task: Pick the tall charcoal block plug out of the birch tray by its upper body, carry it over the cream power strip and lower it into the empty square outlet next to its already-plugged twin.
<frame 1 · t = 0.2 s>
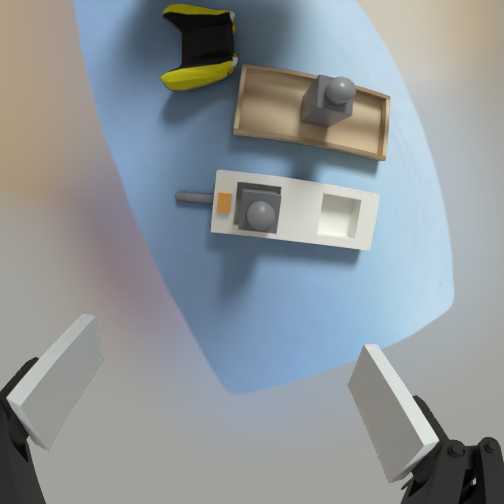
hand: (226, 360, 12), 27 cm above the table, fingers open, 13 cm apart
twin plug: (256, 203, 37), resting on strip
gaming controller: (202, 51, 31), on the table
tray: (314, 112, 34), on the table
plug: (315, 111, 33), point 1 cm above the table, touching tray
strip: (295, 208, 38), on the table
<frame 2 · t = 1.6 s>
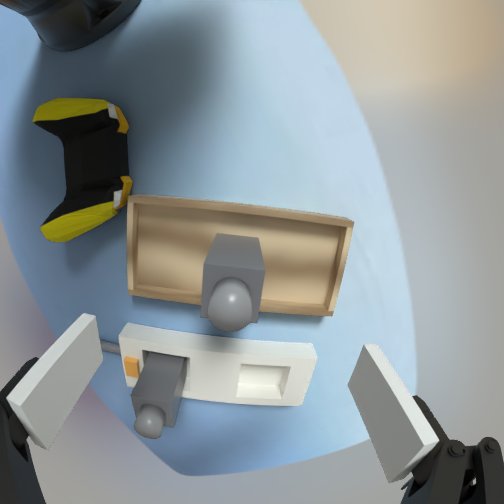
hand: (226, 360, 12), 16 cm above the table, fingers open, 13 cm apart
twin plug: (170, 358, 31), resting on strip
gaming controller: (93, 162, 25), on the table
tray: (235, 253, 27), on the table
plug: (235, 255, 27), point 1 cm above the table, touching tray
strip: (216, 362, 31), on the table
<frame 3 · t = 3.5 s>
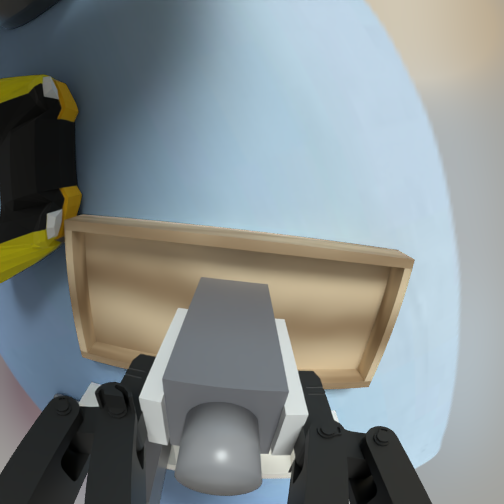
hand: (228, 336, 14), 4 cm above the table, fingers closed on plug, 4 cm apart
twin plug: (150, 426, 20), resting on strip
gaming controller: (35, 167, 15), on the table
tray: (231, 306, 18), on the table
plug: (231, 310, 17), point 1 cm above the table, touching gripper
strip: (208, 432, 21), on the table
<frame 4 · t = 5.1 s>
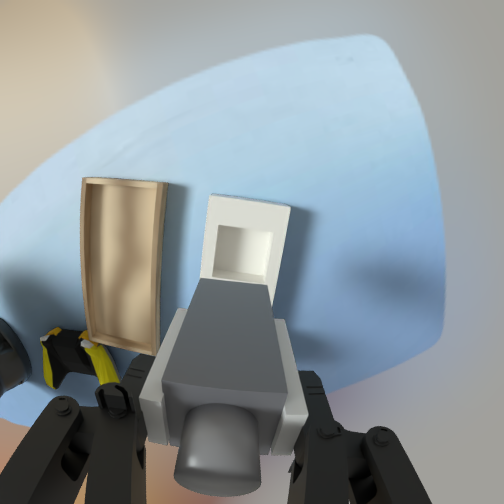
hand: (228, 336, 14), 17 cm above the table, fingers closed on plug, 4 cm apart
gaming controller: (83, 353, 35), on the table
tray: (122, 267, 31), on the table
plug: (230, 310, 17), point 14 cm above the table, touching gripper
strip: (235, 292, 32), on the table
when the fingers open (4 cm above the table, at t = 7.1 s): plug stays where it is, resting on strip.
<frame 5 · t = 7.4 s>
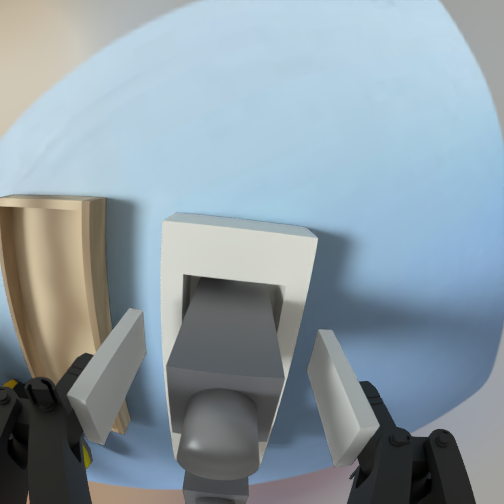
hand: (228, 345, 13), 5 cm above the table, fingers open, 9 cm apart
twin plug: (221, 414, 21), resting on strip
gaming controller: (46, 409, 23), on the table
tray: (64, 323, 18), on the table
plug: (231, 305, 18), resting on strip
strip: (225, 365, 20), on the table
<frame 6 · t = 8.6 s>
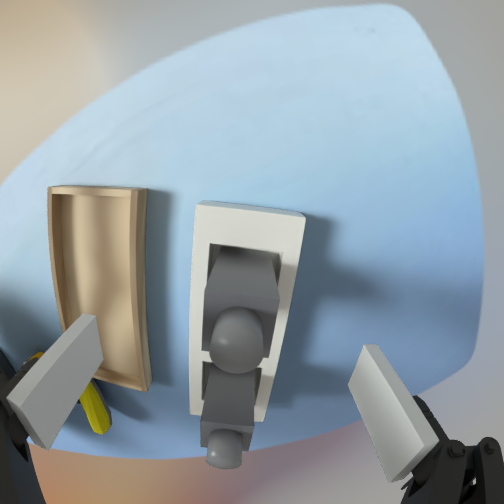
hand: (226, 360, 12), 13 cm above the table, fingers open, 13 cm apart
twin plug: (231, 369, 27), resting on strip
gaming controller: (70, 379, 29), on the table
tray: (102, 292, 25), on the table
plug: (242, 271, 24), resting on strip
strip: (237, 323, 26), on the table
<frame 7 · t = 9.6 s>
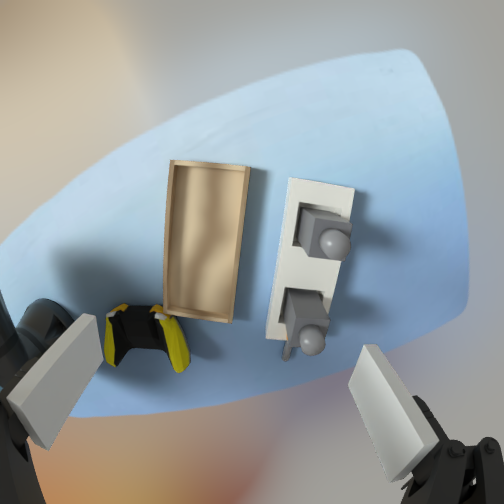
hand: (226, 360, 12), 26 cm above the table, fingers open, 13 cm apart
twin plug: (298, 299, 39), resting on strip
gaming controller: (148, 328, 41), on the table
tray: (204, 242, 37), on the table
plug: (312, 223, 36), resting on strip
strip: (305, 262, 38), on the table
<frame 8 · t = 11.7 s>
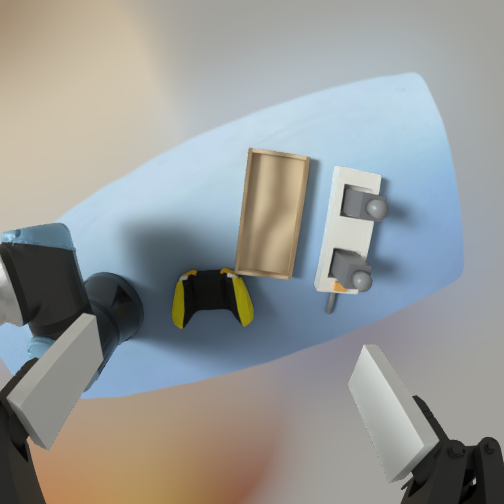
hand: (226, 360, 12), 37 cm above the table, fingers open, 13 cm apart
twin plug: (340, 260, 49), resting on strip
gaming controller: (212, 292, 51), on the table
tray: (270, 214, 47), on the table
plug: (351, 201, 46), resting on strip
strip: (345, 230, 48), on the table
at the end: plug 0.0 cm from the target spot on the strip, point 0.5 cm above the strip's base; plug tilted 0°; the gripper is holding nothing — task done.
